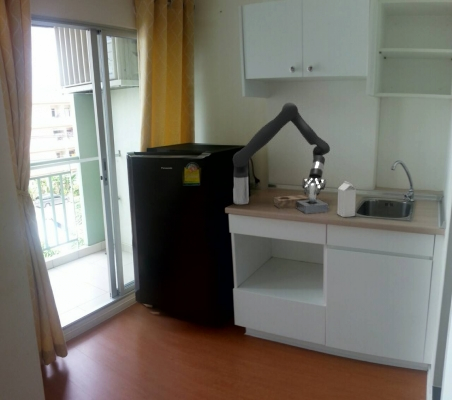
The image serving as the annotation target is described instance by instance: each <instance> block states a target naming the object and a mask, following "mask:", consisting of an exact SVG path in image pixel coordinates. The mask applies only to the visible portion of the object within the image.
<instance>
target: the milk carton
mask: <svg viewBox="0 0 452 400" xmlns="http://www.w3.org/2000/svg"><path fill="white" fill-rule="evenodd" d="M356 196H357V189H356V188H354V186H353V184H352V183H351V182H349V181H346V180H344V181H343V183H341V185H340V186H339V187H338V188H337V212H336V213H337V215H339V216H341V217H342V218H348V217H356V198H357V197H356Z"/></svg>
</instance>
